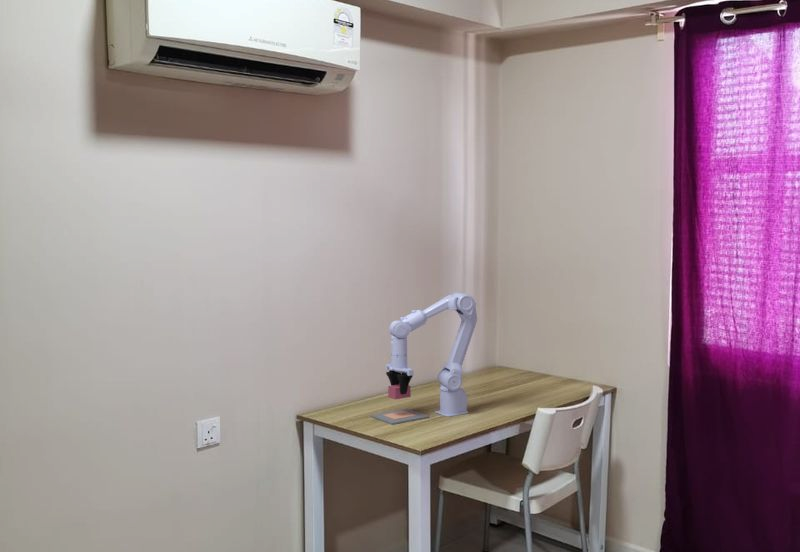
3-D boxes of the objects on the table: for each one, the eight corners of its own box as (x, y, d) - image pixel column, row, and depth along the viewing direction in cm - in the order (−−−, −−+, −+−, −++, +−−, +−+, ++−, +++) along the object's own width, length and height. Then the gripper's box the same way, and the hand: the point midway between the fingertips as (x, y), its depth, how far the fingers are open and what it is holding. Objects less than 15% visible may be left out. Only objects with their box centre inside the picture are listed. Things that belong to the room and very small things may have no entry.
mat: (406, 410, 295) (406, 407, 295) (429, 417, 284) (429, 415, 284) (370, 416, 286) (370, 414, 286) (392, 424, 275) (392, 422, 275)
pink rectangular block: (388, 397, 284) (388, 386, 284) (403, 394, 288) (403, 383, 288) (395, 399, 281) (395, 388, 280) (410, 396, 284) (410, 385, 284)
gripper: (378, 353, 287) (378, 390, 288) (401, 358, 275) (401, 397, 276) (394, 350, 291) (395, 387, 292) (418, 356, 279) (418, 395, 280)
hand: (399, 392), depth 284 cm, fingers closed on pink rectangular block, 4 cm apart
